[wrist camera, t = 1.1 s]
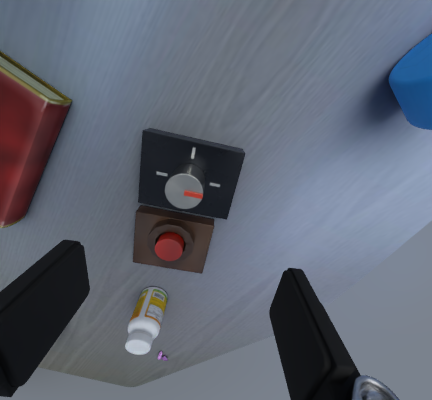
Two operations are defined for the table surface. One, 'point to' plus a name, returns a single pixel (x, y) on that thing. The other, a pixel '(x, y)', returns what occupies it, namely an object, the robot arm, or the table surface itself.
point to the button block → (177, 223)
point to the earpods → (162, 357)
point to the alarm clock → (415, 84)
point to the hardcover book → (25, 135)
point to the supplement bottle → (146, 320)
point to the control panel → (189, 154)
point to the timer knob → (185, 186)
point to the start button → (169, 246)
